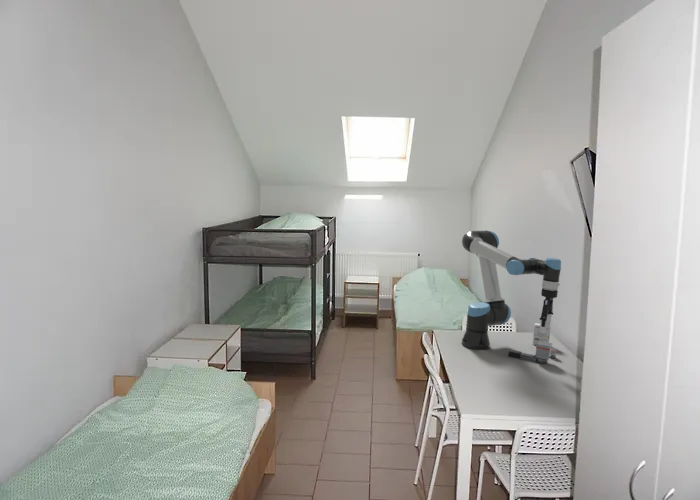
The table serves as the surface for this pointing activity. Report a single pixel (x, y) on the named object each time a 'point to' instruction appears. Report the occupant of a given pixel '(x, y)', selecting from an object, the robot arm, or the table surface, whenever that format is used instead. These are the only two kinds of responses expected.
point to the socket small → (553, 353)
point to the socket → (543, 350)
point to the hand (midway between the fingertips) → (544, 329)
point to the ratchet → (526, 357)
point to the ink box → (540, 334)
